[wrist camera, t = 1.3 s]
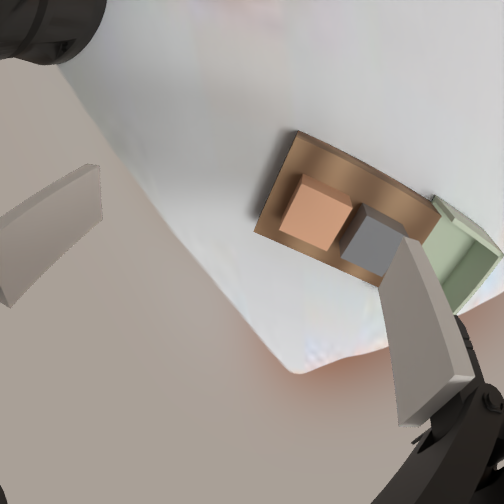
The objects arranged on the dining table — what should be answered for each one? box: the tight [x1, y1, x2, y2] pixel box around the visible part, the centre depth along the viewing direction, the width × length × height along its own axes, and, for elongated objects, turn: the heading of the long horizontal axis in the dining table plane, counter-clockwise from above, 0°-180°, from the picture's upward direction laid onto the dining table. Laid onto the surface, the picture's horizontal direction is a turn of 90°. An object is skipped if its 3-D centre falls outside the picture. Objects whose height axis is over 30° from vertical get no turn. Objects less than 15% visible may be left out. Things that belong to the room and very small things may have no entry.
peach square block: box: [279, 174, 353, 251], centre depth 28 cm, size 5×5×3 cm
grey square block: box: [339, 203, 409, 277], centre depth 28 cm, size 5×5×3 cm
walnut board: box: [254, 130, 442, 287], centre depth 31 cm, size 17×11×4 cm, turn 69°
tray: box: [422, 195, 504, 315], centre depth 31 cm, size 9×13×6 cm
